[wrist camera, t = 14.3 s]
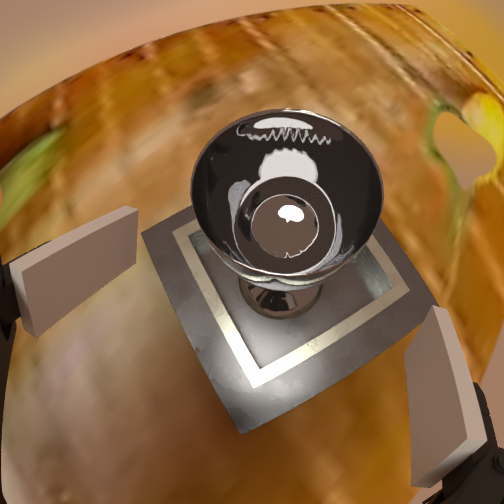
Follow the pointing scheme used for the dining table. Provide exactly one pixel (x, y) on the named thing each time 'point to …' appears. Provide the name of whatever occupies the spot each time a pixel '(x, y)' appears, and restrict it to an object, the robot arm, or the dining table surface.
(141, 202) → the dining table surface
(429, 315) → the robot arm
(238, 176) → the wine glass
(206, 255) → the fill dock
